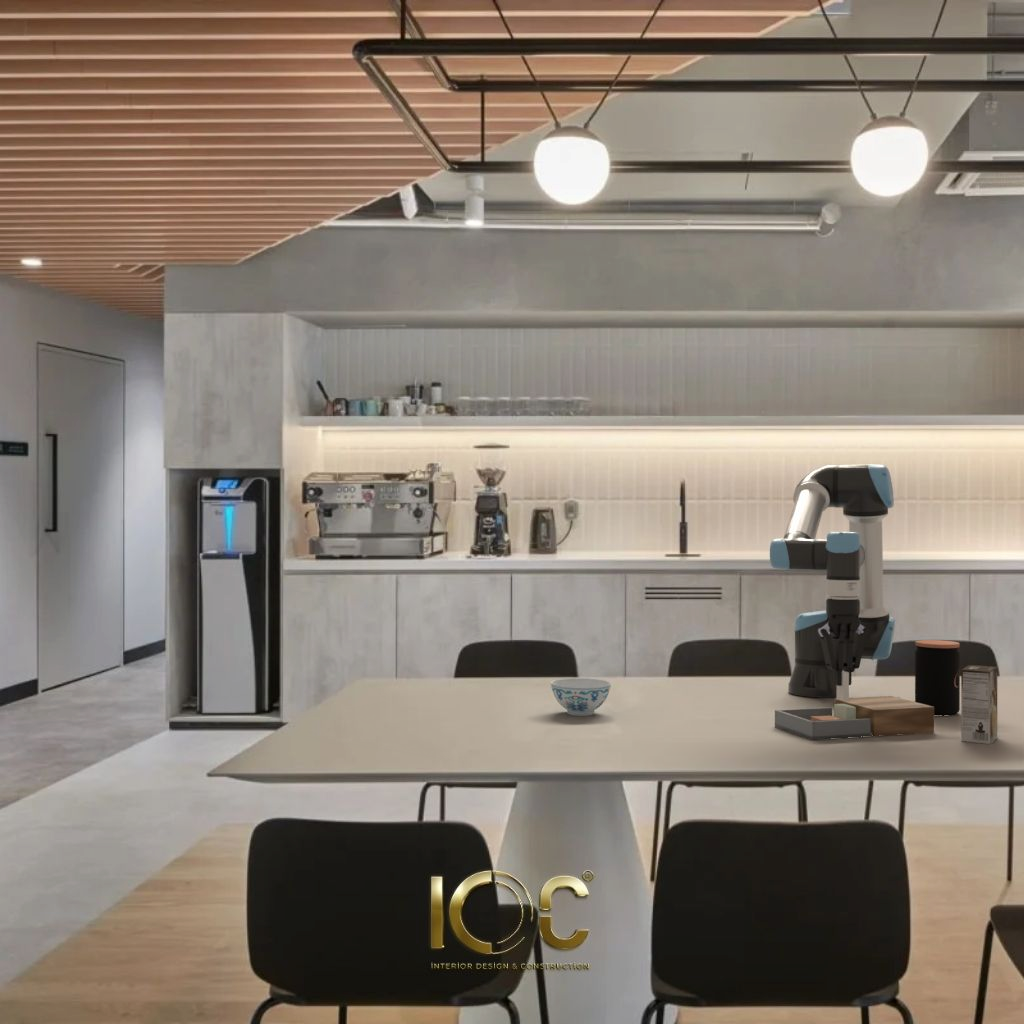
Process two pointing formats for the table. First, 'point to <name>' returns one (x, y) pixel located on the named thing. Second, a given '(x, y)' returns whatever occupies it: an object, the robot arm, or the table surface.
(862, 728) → the tray
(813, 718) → the terracotta tile
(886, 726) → the walnut board
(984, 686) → the coffee box
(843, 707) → the sage tile
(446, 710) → the table surface
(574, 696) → the chinaware
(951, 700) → the coffee jar
